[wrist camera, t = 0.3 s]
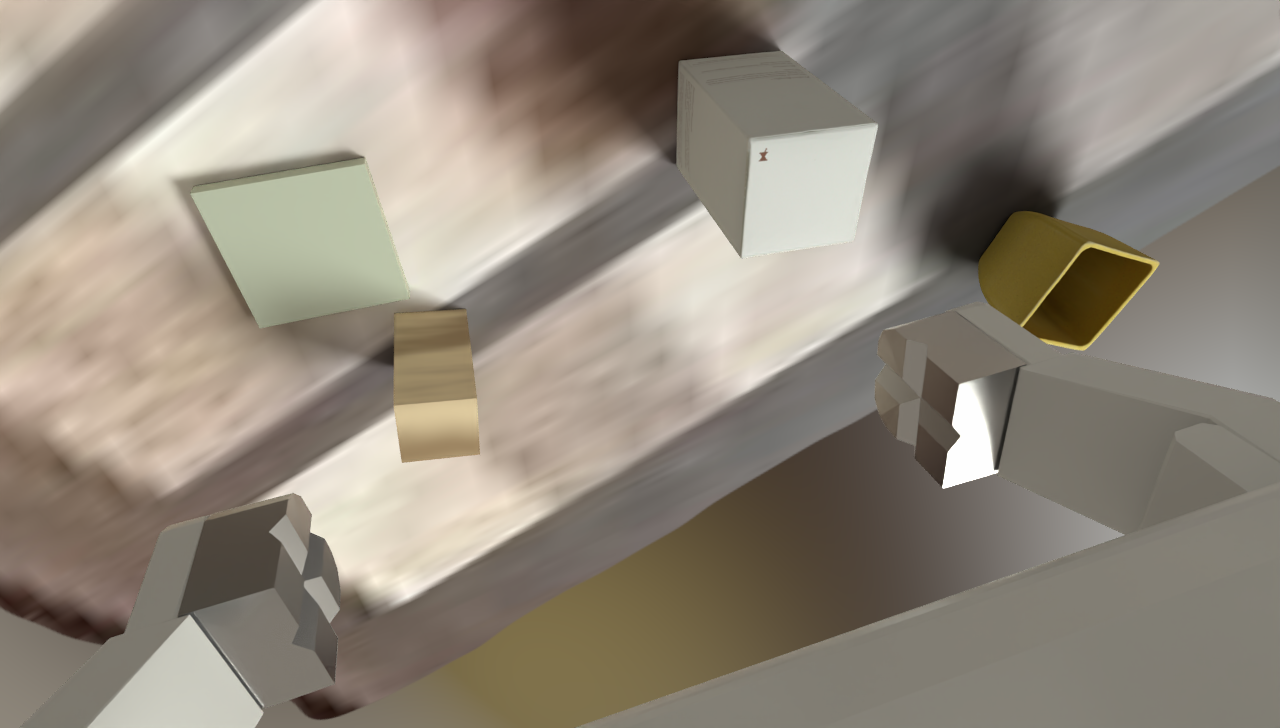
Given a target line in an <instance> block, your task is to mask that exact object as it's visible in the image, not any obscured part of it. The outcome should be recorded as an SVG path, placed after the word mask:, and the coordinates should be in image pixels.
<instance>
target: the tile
mask: <svg viewBox="0 0 1280 728" xmlns="http://www.w3.org/2000/svg"><path fill="white" fill-rule="evenodd" d="M190 194H191V196H192V198H193V200H194V202H195V204H196V206H197V208H198V210H199V212H200V214H201V216H202V218H203V220H204V221H205V223H206V225H207V227H208V229H209V231H210V233H211V235H212V237H213V239H214V241H215V243H216V245H217V247H218V249H219V250H220V252H221V254H222V256H223V258H224V260H225V262H226V264H227V266H228V268H229V270H230V272H231V274H232V276H233V278H234V279H235V281H236V283H237V285H238V287H239V289H240V291H241V293H242V295H243V297H244V299H245V301H246V303H247V305H248V307H249V308H250V310H251V312H252V314H253V316H254V318H255V320H256V322H257V324H258V326H259V328H265V327H270V326H275V325H280V324H285V323H290V322H295V321H300V320H305V319H310V318H315V317H320V316H325V315H330V314H335V313H340V312H345V311H350V310H356V309H361V308H366V307H371V306H376V305H381V304H386V303H391V302H396V301H401V300H406V299H410V290H409V287H408V284H407V281H406V278H405V275H404V272H403V269H402V266H401V263H400V260H399V257H398V254H397V251H396V248H395V245H394V242H393V239H392V236H391V233H390V230H389V227H388V224H387V221H386V218H385V215H384V212H383V209H382V206H381V203H380V200H379V197H378V194H377V191H376V188H375V185H374V182H373V179H372V176H371V173H370V171H369V168H368V165H367V162H366V159H365V157H364V158H358V159H352V160H346V161H340V162H334V163H329V164H323V165H317V166H311V167H305V168H299V169H293V170H287V171H281V172H275V173H270V174H264V175H258V176H252V177H246V178H240V179H234V180H228V181H222V182H217V183H211V184H205V185H199V186H194V187H193V189H192V191H191V193H190Z"/></svg>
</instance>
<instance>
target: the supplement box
mask: <svg viewBox="0 0 1280 728" xmlns="http://www.w3.org/2000/svg"><path fill="white" fill-rule="evenodd" d="M877 129H878V124H877V123H876V122H875V121H873V120H872V119H871V118H869V117H868V116H867V115H866V114H864V113H863V112H862V111H860V110H859V109H858V108H856V107H855V106H854V105H852V104H851V103H850V102H848V101H847V100H846V99H844V98H843V97H842V96H840V95H839V94H838V93H836V92H835V91H834V90H833V89H831V88H830V87H829V86H827V85H826V84H825V83H823V82H822V81H821V80H819V79H818V78H817V77H815V76H814V75H813V74H811V73H810V72H809V71H807V70H806V69H805V68H803V67H802V66H801V65H800V64H798V63H797V62H796V61H794V60H793V59H792V58H790V57H789V56H788V55H786V54H785V53H784V52H783V51H775V52H762V53H751V54H741V55H732V56H722V57H712V58H702V59H693V60H681V61H679V67H678V102H677V150H676V165H677V168H678V169H679V171H680V172H681V173H682V175H683V176H684V178H685V179H686V181H687V182H688V183H689V185H690V186H691V188H692V189H693V191H694V192H695V193H696V195H697V196H698V198H699V199H700V201H701V202H702V203H703V205H704V206H705V207H706V209H707V210H708V212H709V213H710V215H711V216H712V218H713V219H714V221H715V222H716V223H717V225H718V226H719V228H720V229H721V230H722V232H723V233H724V235H725V236H726V238H727V239H728V240H729V242H730V243H731V245H732V246H733V247H734V249H735V250H736V252H737V253H738V255H739V256H740V257H741V258H742V259H743V258H750V257H756V256H762V255H768V254H775V253H781V252H788V251H794V250H801V249H808V248H814V247H821V246H827V245H834V244H841V243H848V242H853V241H854V238H855V233H856V228H857V223H858V218H859V213H860V208H861V203H862V198H863V193H864V187H865V182H866V177H867V173H868V168H869V164H870V160H871V155H872V151H873V146H874V142H875V137H876V133H877Z"/></svg>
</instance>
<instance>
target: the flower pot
mask: <svg viewBox="0 0 1280 728" xmlns="http://www.w3.org/2000/svg"><path fill="white" fill-rule="evenodd" d="M1158 265H1159V262H1158V261H1157V260H1155V259H1153V258H1151V257H1149V256H1147V255H1145V254H1143V253H1141V252H1139V251H1137V250H1135V249H1133V248H1132V247H1130V246H1128V245H1126V244H1124V243H1122V242H1120V241H1118V240H1116V239H1114V238H1112V237H1110V236H1108V235H1106V234H1104V233H1101V232H1098V231H1096V230H1093V229H1090V228H1086V227H1082V226H1079V225H1075V224H1072V223H1068V222H1065V221H1062V220H1059V219H1056V218H1053V217H1050V216H1047V215H1044V214H1041V213H1037V212H1031V211H1019V212H1014V213H1013V214H1012V215H1011V216H1010V217H1009V218H1008V220H1007V221H1006V223H1005V224H1004V226H1003V227H1002V229H1001V230H1000V231H999V233H998V234H997V236H996V237H995V239H994V240H993V241H992V243H991V244H990V245H989V247H988V248H987V250H986V251H985V252H984V254H983V255H982V257H981V258H980V260H979V266H978V275H979V283H980V287H981V290H982V292H983V295H984V296H985V298H986V300H987V302H988V303H989V304H990V306H992V307H993V308H995V309H996V310H998V311H999V312H1001V313H1002V314H1004V315H1005V316H1007V317H1008V318H1009V319H1011V320H1012V321H1014V322H1015V323H1017V324H1018V325H1020V326H1021V327H1023V328H1024V329H1026V330H1027V331H1029V332H1030V333H1031V334H1033V335H1034V336H1036V337H1037V338H1039V339H1040V340H1042V341H1043V342H1045V343H1046V344H1051V345H1055V346H1061V347H1066V348H1071V349H1075V350H1086V349H1087V348H1088V347H1089V346H1090V345H1091V344H1092V343H1093V342H1094V341H1095V340H1096V338H1097V337H1098V336H1099V335H1100V334H1101V333H1102V332H1103V331H1104V329H1105V328H1106V327H1107V326H1108V325H1109V324H1110V323H1111V322H1112V320H1113V319H1114V318H1115V317H1116V316H1117V315H1118V313H1119V312H1120V311H1121V310H1122V309H1123V307H1124V306H1125V305H1126V304H1127V303H1128V302H1129V301H1130V299H1131V298H1132V297H1133V296H1134V295H1135V293H1136V292H1137V291H1138V290H1139V289H1140V288H1141V287H1142V285H1143V284H1144V283H1145V282H1146V281H1147V280H1148V279H1149V277H1150V276H1151V275H1152V274H1153V272H1154V271H1155V269H1156V268H1157V267H1158Z"/></svg>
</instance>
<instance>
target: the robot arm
mask: <svg viewBox="0 0 1280 728" xmlns="http://www.w3.org/2000/svg"><path fill="white" fill-rule="evenodd" d="M877 355H878V356H879V357H880V358H881V359H882V361H883V362H884V363H885V364H886V365H885V366H884V368H883V369H882V371H881V372H880V373H879V375H878V376H877V378H876V379H875V401H876V405H877V408H878V411H879V415H880V417H881V419H882V421H883V423H884V424H885V426H886V428H887V429H888V430H889V431H890V432H891V433H892V434H893V435H894V437H895V438H896V439H898V440H901V441H903V442H906V443H909V444H912V445H915V459H916V461H917V462H918V463H919V464H920V465H921V466H922V467H923V468H924V469H925V470H926V471H927V472H928V473H929V474H930V475H931V476H932V477H933V479H934V480H935V481H936V482H937V483H938V484H939V485H940V486H941V487H942V488H946V487H949V486H953V485H956V484H959V483H963V482H966V481H970V480H973V479H977V478H980V477H984V476H987V475H990V474H994V473H997V472H998V474H997V476H1000V477H1002V478H1004V479H1006V480H1008V481H1010V482H1013V483H1015V484H1017V485H1019V486H1021V487H1023V488H1025V489H1028V490H1030V491H1032V492H1034V493H1036V494H1038V495H1040V496H1043V497H1045V498H1047V499H1049V500H1051V501H1053V502H1056V503H1058V504H1060V505H1062V506H1064V507H1066V508H1069V509H1071V510H1073V511H1075V512H1077V513H1079V514H1081V515H1084V516H1086V517H1088V518H1090V519H1092V520H1094V521H1097V522H1099V523H1101V524H1103V525H1105V526H1107V527H1109V528H1111V529H1114V530H1116V531H1118V532H1120V533H1122V534H1125V535H1124V536H1122V537H1119V538H1116V539H1113V540H1110V541H1107V542H1105V543H1101V544H1098V545H1096V546H1093V547H1090V548H1087V549H1084V550H1081V551H1079V552H1076V553H1073V554H1070V555H1067V556H1064V557H1061V558H1058V559H1055V560H1053V561H1050V562H1047V563H1044V564H1041V565H1039V566H1035V567H1033V568H1030V569H1027V570H1024V571H1021V572H1018V573H1016V574H1013V575H1010V576H1007V577H1004V578H1001V579H999V580H996V581H993V582H990V583H987V584H984V585H981V586H979V587H976V588H973V589H970V590H967V591H965V592H961V593H959V594H956V595H953V596H950V597H947V598H944V599H941V600H938V601H936V602H933V603H930V604H927V605H925V606H922V607H919V608H916V609H913V610H910V611H907V612H904V613H901V614H899V615H896V616H893V617H890V618H887V619H885V620H881V621H879V622H876V623H873V624H870V625H867V626H864V627H861V628H859V629H856V630H853V631H850V632H847V633H844V634H842V635H839V636H836V637H833V638H830V639H827V640H825V641H822V642H819V643H816V644H813V645H810V646H807V647H805V648H801V649H799V650H796V651H793V652H790V653H787V654H785V655H782V656H779V657H776V658H773V659H770V660H767V661H764V662H762V663H759V664H756V665H753V666H750V667H747V668H744V669H741V670H739V671H736V672H733V673H730V674H727V675H724V676H721V677H719V678H716V679H713V680H710V681H707V682H704V683H702V684H699V685H696V686H693V687H690V688H687V689H685V690H681V691H679V692H676V693H673V694H670V695H667V696H664V697H661V698H659V699H656V700H653V701H650V702H647V703H644V704H641V705H639V706H636V707H633V708H630V709H627V710H624V711H622V712H619V713H616V714H613V715H610V716H607V717H604V718H601V719H599V720H596V721H593V722H590V723H587V724H584V725H582V726H579V727H576V728H1280V402H1278V401H1276V400H1274V399H1273V398H1269V397H1265V396H1261V395H1256V394H1252V393H1248V392H1243V391H1239V390H1235V389H1230V388H1226V387H1221V386H1217V385H1213V384H1209V383H1204V382H1200V381H1196V380H1191V379H1187V378H1182V377H1178V376H1174V375H1169V374H1165V373H1161V372H1156V371H1152V370H1148V369H1143V368H1139V367H1135V366H1130V365H1126V364H1122V363H1117V362H1113V361H1108V360H1104V359H1100V358H1095V357H1091V356H1087V355H1082V354H1078V353H1074V352H1071V353H1068V354H1064V355H1062V354H1061V353H1059V352H1058V351H1056V350H1055V349H1053V348H1052V347H1051V346H1049V345H1048V344H1046V343H1045V342H1043V341H1042V340H1040V339H1039V338H1037V337H1036V336H1034V335H1033V334H1031V333H1030V332H1029V331H1027V330H1026V329H1024V328H1023V327H1021V326H1020V325H1018V324H1017V323H1015V322H1014V321H1012V320H1011V319H1009V318H1008V317H1007V316H1005V315H1004V314H1002V313H1001V312H999V311H998V310H996V309H995V308H993V307H992V306H990V305H989V304H986V303H982V302H974V303H971V304H967V305H964V306H961V307H958V308H954V309H951V310H948V311H946V312H945V313H942V314H938V315H934V316H931V317H927V318H924V319H920V320H917V321H913V322H910V323H906V324H903V325H899V326H895V327H892V328H888V329H885V330H883V332H882V334H881V336H880V338H879V341H878V352H877ZM311 517H312V514H311V513H310V511H309V509H308V508H307V506H306V504H305V503H304V501H303V499H302V498H301V496H299V495H296V494H294V493H292V494H288V495H284V496H280V497H276V498H272V499H268V500H265V501H261V502H257V503H253V504H249V505H245V506H241V507H237V508H233V509H229V510H225V511H222V512H218V513H214V514H211V515H210V516H203V517H200V518H196V519H192V520H188V521H185V522H181V523H177V524H174V525H170V526H168V527H167V528H166V529H164V530H163V531H162V532H161V533H160V535H159V537H158V539H157V542H156V545H155V548H154V551H153V554H152V556H151V559H150V562H149V565H148V568H147V571H146V573H145V576H144V579H143V582H142V585H141V588H140V590H139V593H138V596H137V599H136V602H135V605H134V607H133V610H132V613H131V616H130V619H129V622H128V624H127V627H126V630H125V633H124V634H122V635H119V636H116V637H112V638H110V639H109V640H108V641H107V642H106V643H105V644H104V645H103V646H102V647H101V648H100V649H99V650H98V651H97V652H96V653H95V654H94V655H93V656H92V657H91V658H89V659H88V661H86V662H85V663H84V665H82V667H80V669H78V670H77V671H76V672H75V673H74V674H73V675H72V676H71V677H70V678H69V679H68V680H67V681H66V682H65V683H64V684H63V685H62V686H61V687H60V688H59V689H58V690H57V691H56V692H55V693H54V694H53V695H52V696H51V697H50V698H49V699H48V700H47V701H46V702H45V703H44V704H43V705H42V706H41V707H40V708H39V709H38V710H37V711H36V712H35V713H34V714H33V715H32V716H31V717H30V718H29V719H28V720H27V721H26V722H25V723H24V724H23V725H22V726H21V727H20V728H255V726H256V725H257V723H258V722H259V720H260V718H261V717H262V715H263V711H262V709H265V708H268V707H271V706H274V705H276V704H279V703H282V702H285V701H288V700H291V699H294V698H297V697H299V696H302V695H305V694H308V693H311V692H314V691H317V690H319V689H322V688H325V687H328V686H331V685H334V684H335V675H336V661H337V646H338V637H337V636H336V634H335V632H334V630H333V629H332V627H331V625H330V622H331V620H332V619H333V618H334V616H335V615H336V614H337V612H338V611H339V610H340V584H339V577H338V571H337V567H336V564H335V561H334V558H333V555H332V552H331V550H330V548H329V546H328V544H327V543H326V541H325V539H324V538H321V537H319V536H317V535H315V534H312V533H310V526H311Z"/></svg>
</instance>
